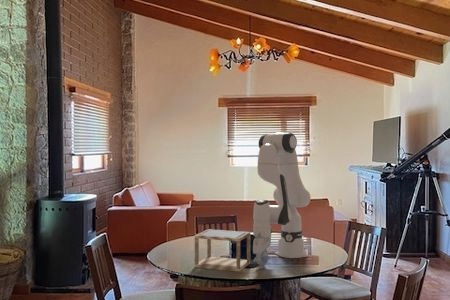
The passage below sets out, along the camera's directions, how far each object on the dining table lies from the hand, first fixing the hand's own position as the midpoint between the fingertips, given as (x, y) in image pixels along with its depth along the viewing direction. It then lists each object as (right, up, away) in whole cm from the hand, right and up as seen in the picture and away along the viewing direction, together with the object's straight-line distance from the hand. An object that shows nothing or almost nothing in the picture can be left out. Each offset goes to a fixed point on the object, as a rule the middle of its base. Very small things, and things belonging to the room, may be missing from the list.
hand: (261, 259), depth 236 cm
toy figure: (0, -5, 0) cm, 5 cm away
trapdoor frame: (-20, -5, +7) cm, 21 cm away
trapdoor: (-20, +9, +6) cm, 23 cm away
